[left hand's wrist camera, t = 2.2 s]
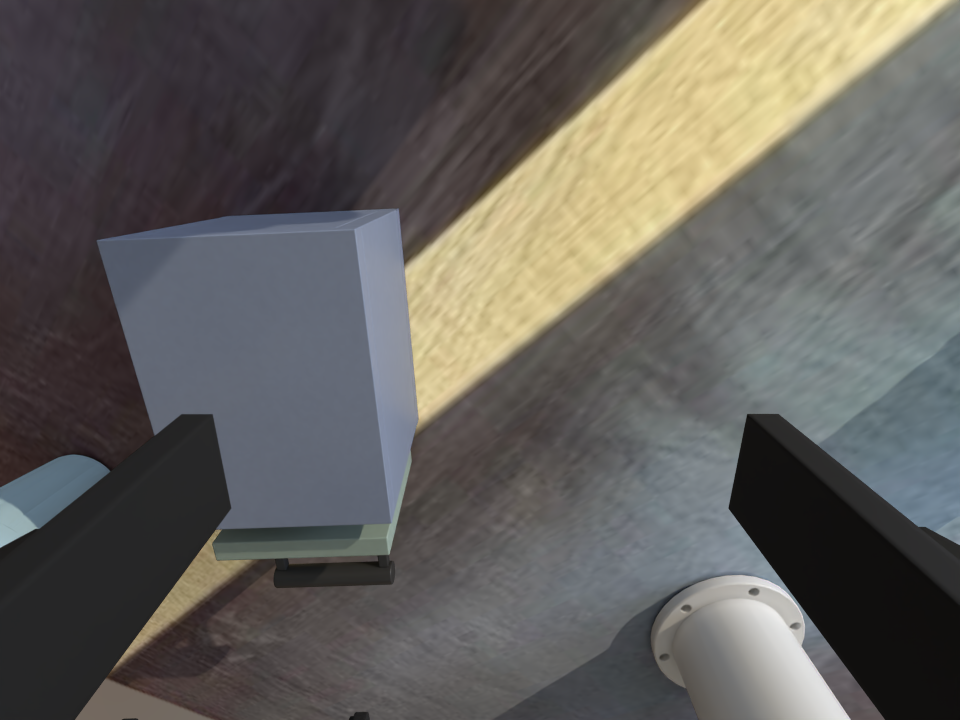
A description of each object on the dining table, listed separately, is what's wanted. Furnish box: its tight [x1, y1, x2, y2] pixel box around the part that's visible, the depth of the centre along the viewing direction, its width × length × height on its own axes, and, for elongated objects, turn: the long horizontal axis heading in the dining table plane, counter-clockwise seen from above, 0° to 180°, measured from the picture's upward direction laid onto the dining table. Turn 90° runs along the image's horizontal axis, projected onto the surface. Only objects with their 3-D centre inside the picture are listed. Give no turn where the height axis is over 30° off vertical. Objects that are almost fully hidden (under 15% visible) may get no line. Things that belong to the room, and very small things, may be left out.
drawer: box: [212, 451, 412, 588], centre depth 32 cm, size 19×10×10 cm, turn 2°
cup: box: [0, 455, 110, 548], centre depth 34 cm, size 8×8×10 cm
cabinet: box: [97, 209, 418, 530], centre depth 29 cm, size 15×11×12 cm
